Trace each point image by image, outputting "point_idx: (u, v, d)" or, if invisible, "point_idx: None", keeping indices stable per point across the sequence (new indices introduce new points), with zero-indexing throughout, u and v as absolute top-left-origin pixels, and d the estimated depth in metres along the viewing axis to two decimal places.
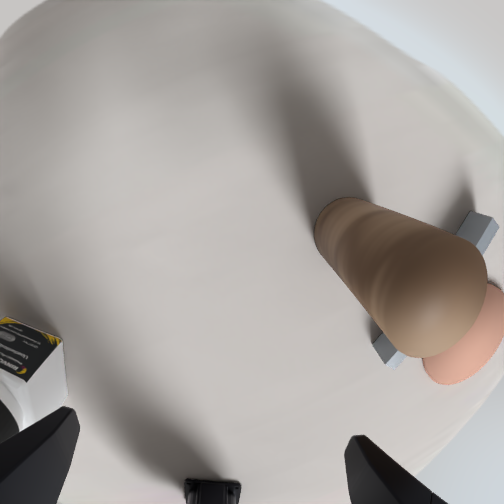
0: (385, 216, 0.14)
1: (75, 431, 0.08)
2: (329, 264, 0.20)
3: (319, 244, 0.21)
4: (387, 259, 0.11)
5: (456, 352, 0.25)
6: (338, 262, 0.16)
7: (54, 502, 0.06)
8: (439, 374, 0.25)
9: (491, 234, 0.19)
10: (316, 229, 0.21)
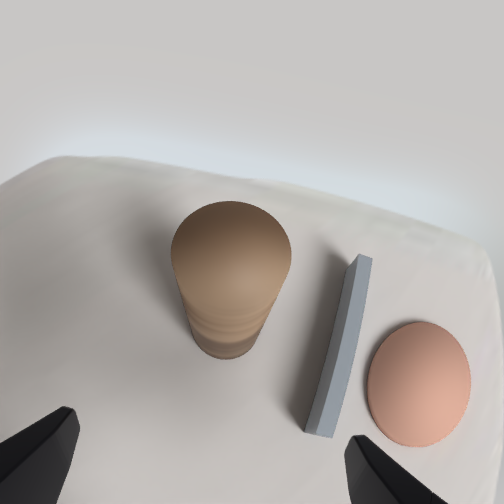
0: None
1: (75, 431, 0.08)
2: (202, 344, 0.20)
3: (193, 335, 0.22)
4: None
5: (418, 405, 0.21)
6: (187, 315, 0.18)
7: (54, 502, 0.06)
8: (413, 436, 0.20)
9: (366, 267, 0.24)
10: None
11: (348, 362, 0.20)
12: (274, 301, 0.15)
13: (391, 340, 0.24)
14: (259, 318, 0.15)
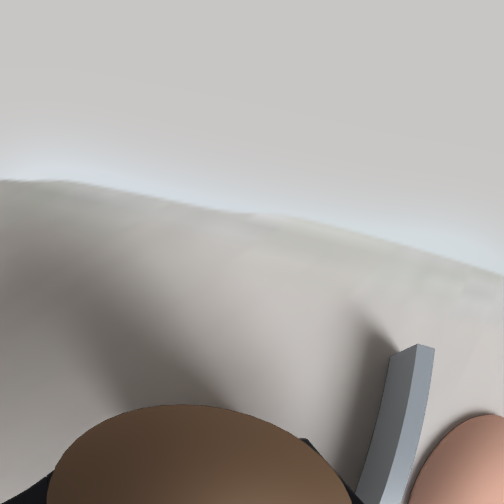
0: None
1: None
2: None
3: None
4: None
5: None
6: None
7: None
8: None
9: (427, 365, 0.14)
10: None
11: None
12: None
13: (444, 450, 0.13)
14: None
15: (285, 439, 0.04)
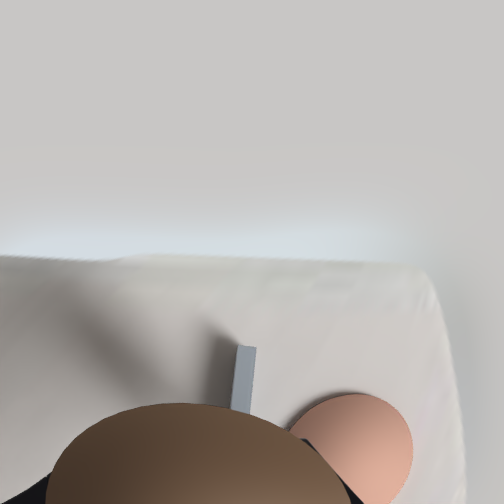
0: None
1: None
2: None
3: None
4: None
5: None
6: None
7: None
8: None
9: (249, 361, 0.20)
10: None
11: None
12: None
13: (299, 427, 0.20)
14: None
15: (283, 438, 0.04)
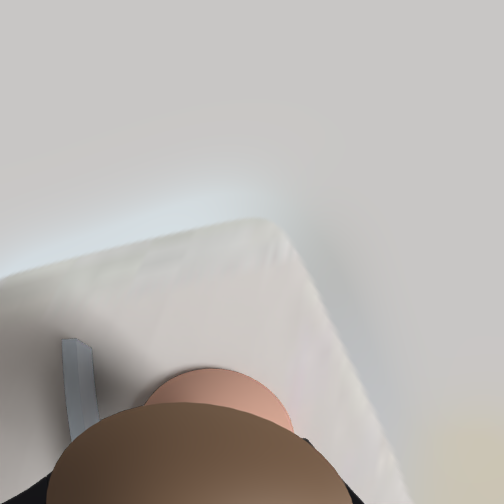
0: None
1: None
2: None
3: None
4: None
5: None
6: None
7: None
8: None
9: (72, 352, 0.18)
10: None
11: None
12: None
13: None
14: None
15: (285, 437, 0.04)
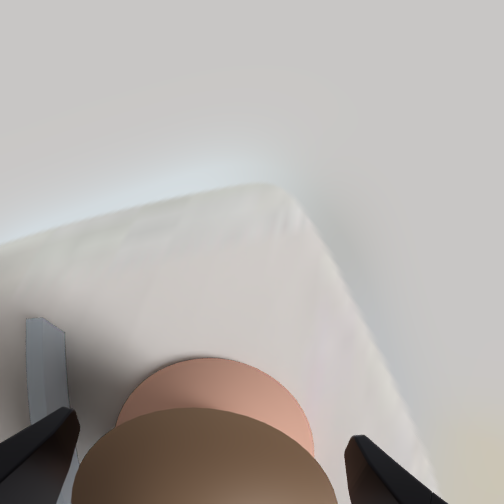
0: None
1: (75, 431, 0.08)
2: None
3: None
4: None
5: None
6: None
7: (54, 502, 0.06)
8: None
9: (37, 335, 0.14)
10: None
11: None
12: None
13: (126, 412, 0.15)
14: None
15: (277, 436, 0.05)
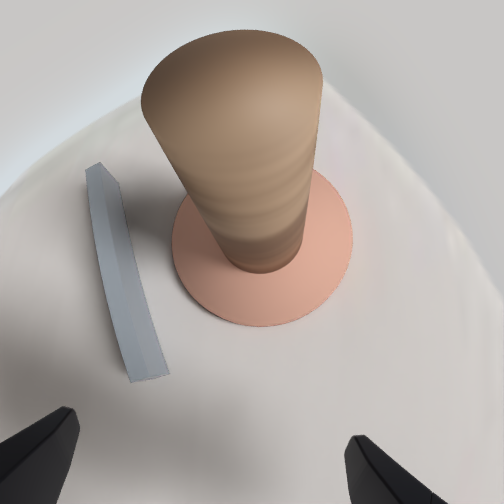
0: None
1: (75, 431, 0.08)
2: (233, 255, 0.16)
3: (222, 250, 0.17)
4: None
5: None
6: (201, 215, 0.13)
7: (54, 502, 0.06)
8: (287, 305, 0.18)
9: (96, 175, 0.19)
10: None
11: (116, 283, 0.16)
12: (314, 150, 0.10)
13: (180, 218, 0.20)
14: (298, 179, 0.10)
15: (263, 32, 0.08)
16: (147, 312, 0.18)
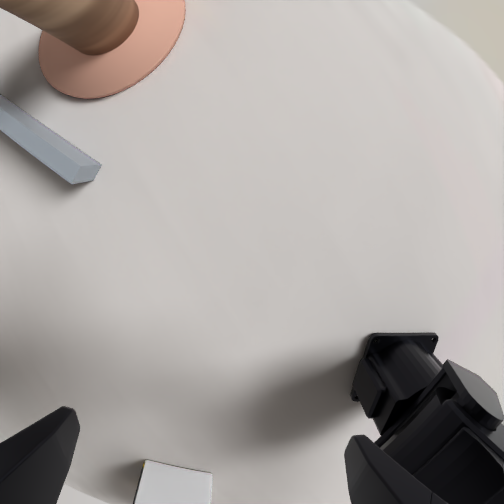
0: None
1: (75, 431, 0.08)
2: (86, 41, 0.13)
3: (80, 49, 0.14)
4: None
5: None
6: (41, 27, 0.10)
7: (54, 502, 0.06)
8: (151, 49, 0.16)
9: None
10: None
11: (22, 130, 0.15)
12: None
13: (43, 61, 0.16)
14: None
15: None
16: (59, 137, 0.17)
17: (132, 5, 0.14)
